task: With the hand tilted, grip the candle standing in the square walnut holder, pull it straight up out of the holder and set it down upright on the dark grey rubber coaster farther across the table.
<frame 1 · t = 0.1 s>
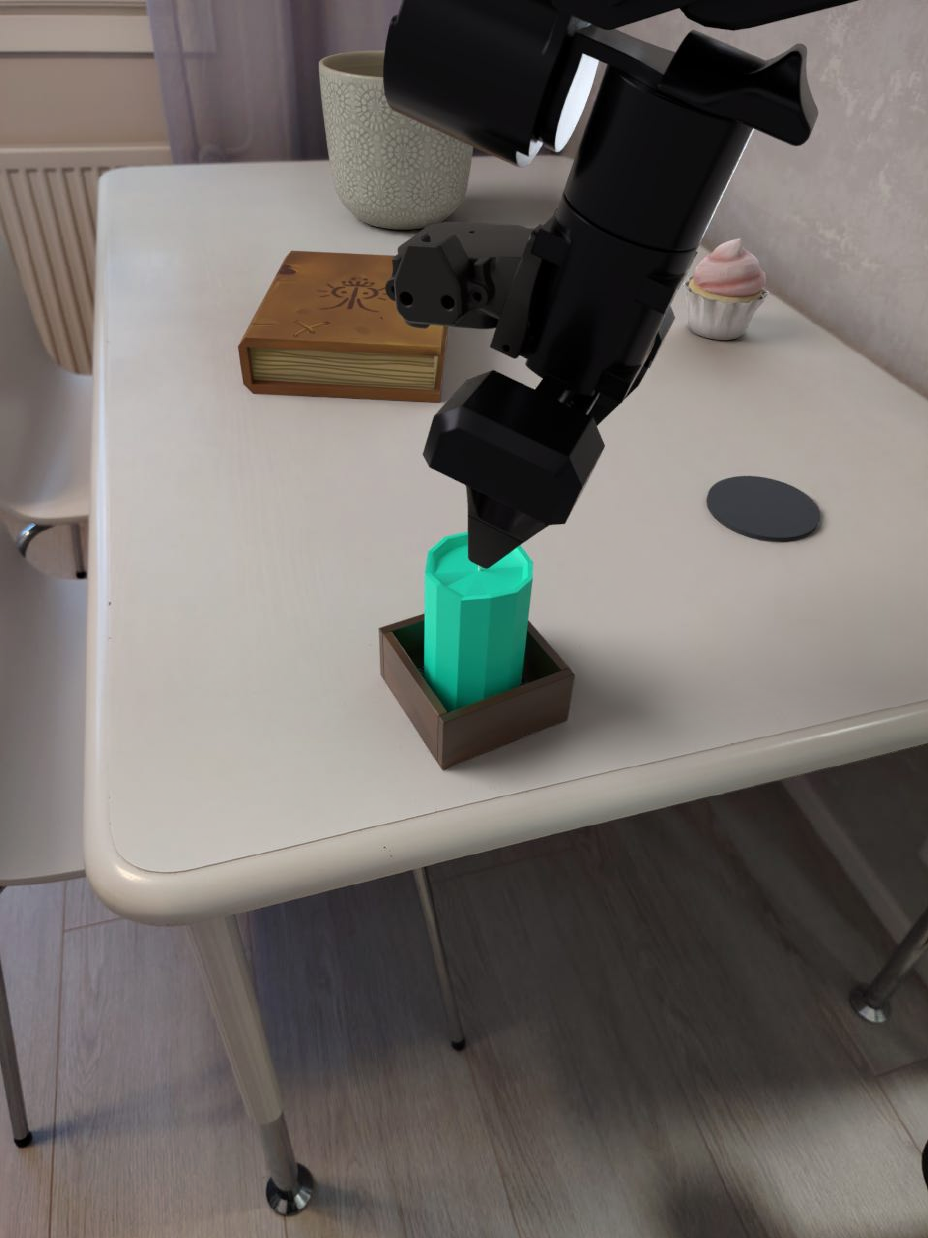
hand: (510, 513, 45), 14 cm above the table, tool pointing down, fingers open, 9 cm apart
coaster: (762, 509, 71), on the table
planter: (401, 219, 125), on the table
candle: (471, 699, 54), resting in holder
diary: (357, 349, 91), on the table
cupcake: (715, 331, 98), on the table
holder: (471, 696, 54), on the table
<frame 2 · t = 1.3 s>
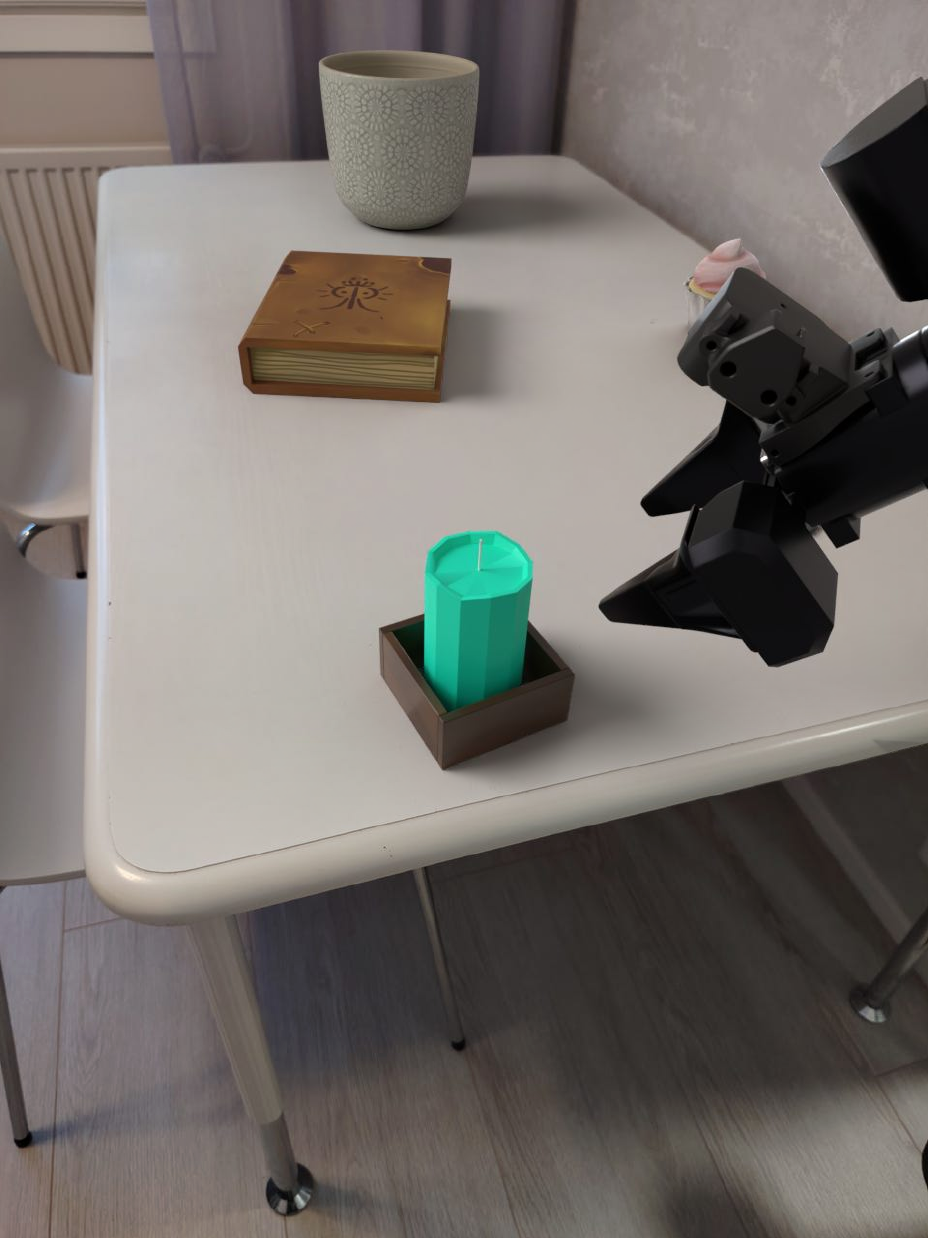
hand: (625, 556, 43), 13 cm above the table, tool tilted 45°, fingers open, 9 cm apart
nothing on the table moved.
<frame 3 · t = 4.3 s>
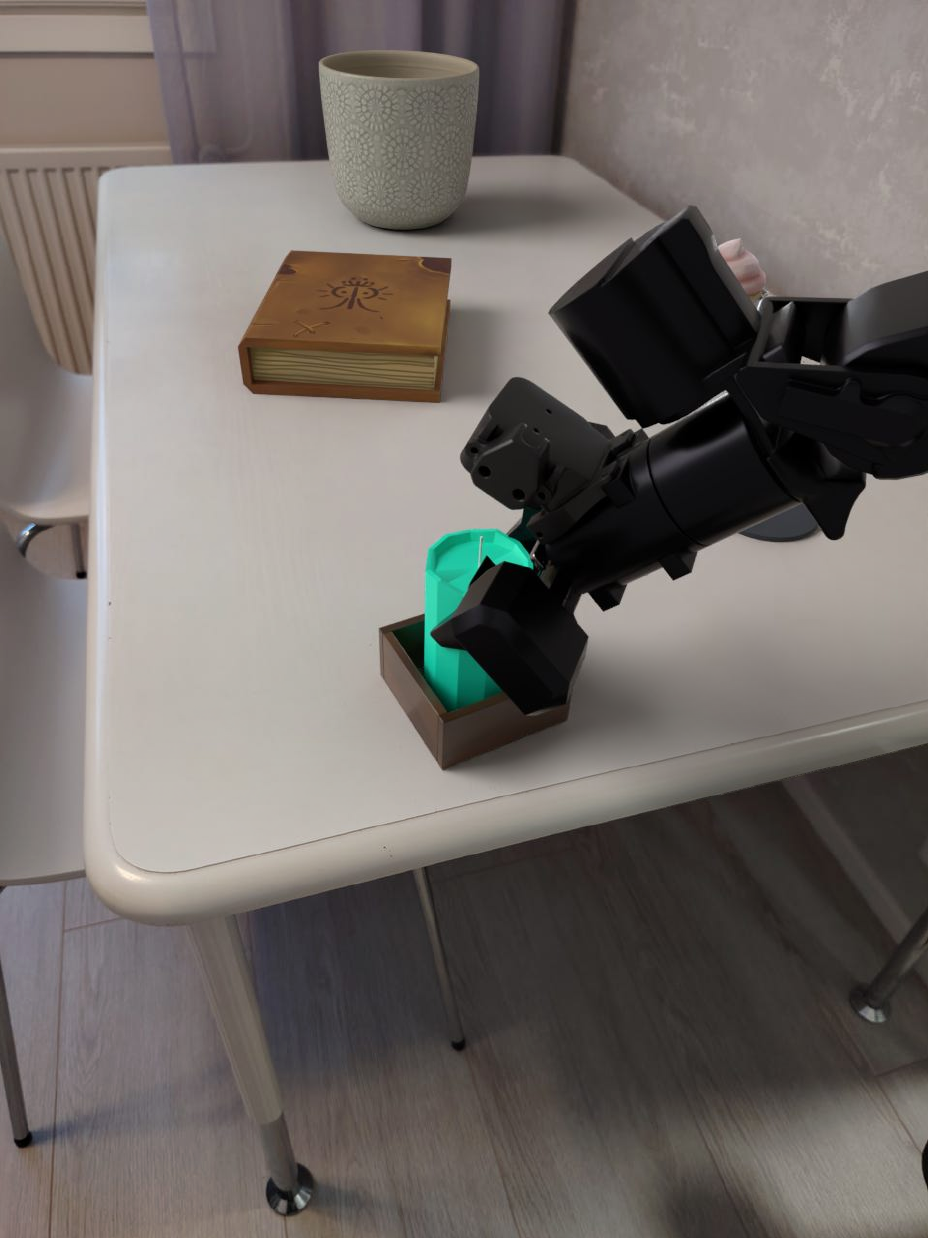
hand: (453, 609, 50), 7 cm above the table, tool tilted 45°, fingers closed on candle, 5 cm apart
candle: (471, 698, 54), resting in holder, touching gripper
everything else where it was.
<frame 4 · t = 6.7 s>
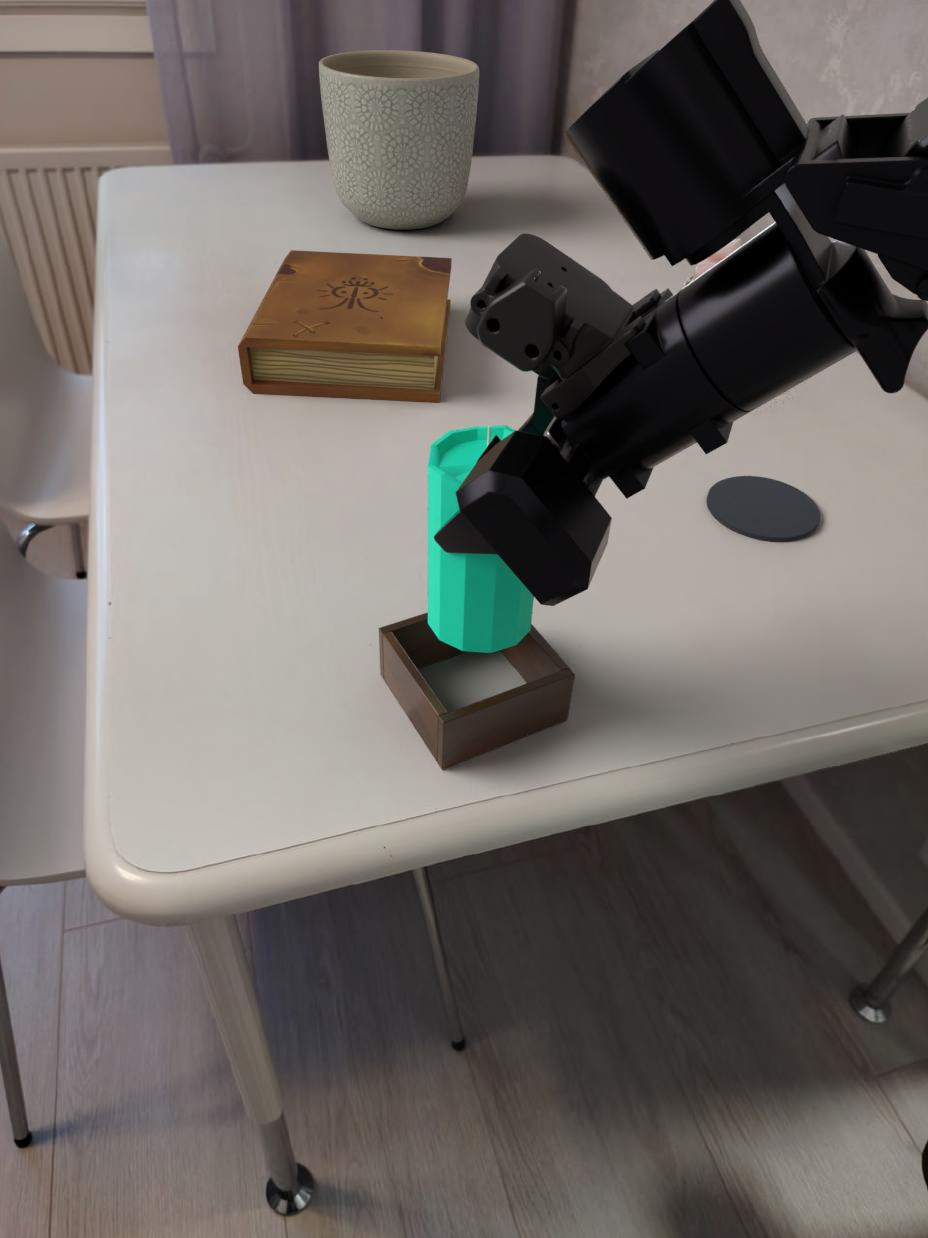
hand: (459, 515, 45), 13 cm above the table, tool tilted 45°, fingers closed on candle, 5 cm apart
candle: (479, 620, 49), point 6 cm above the table, touching gripper
everything else where it was.
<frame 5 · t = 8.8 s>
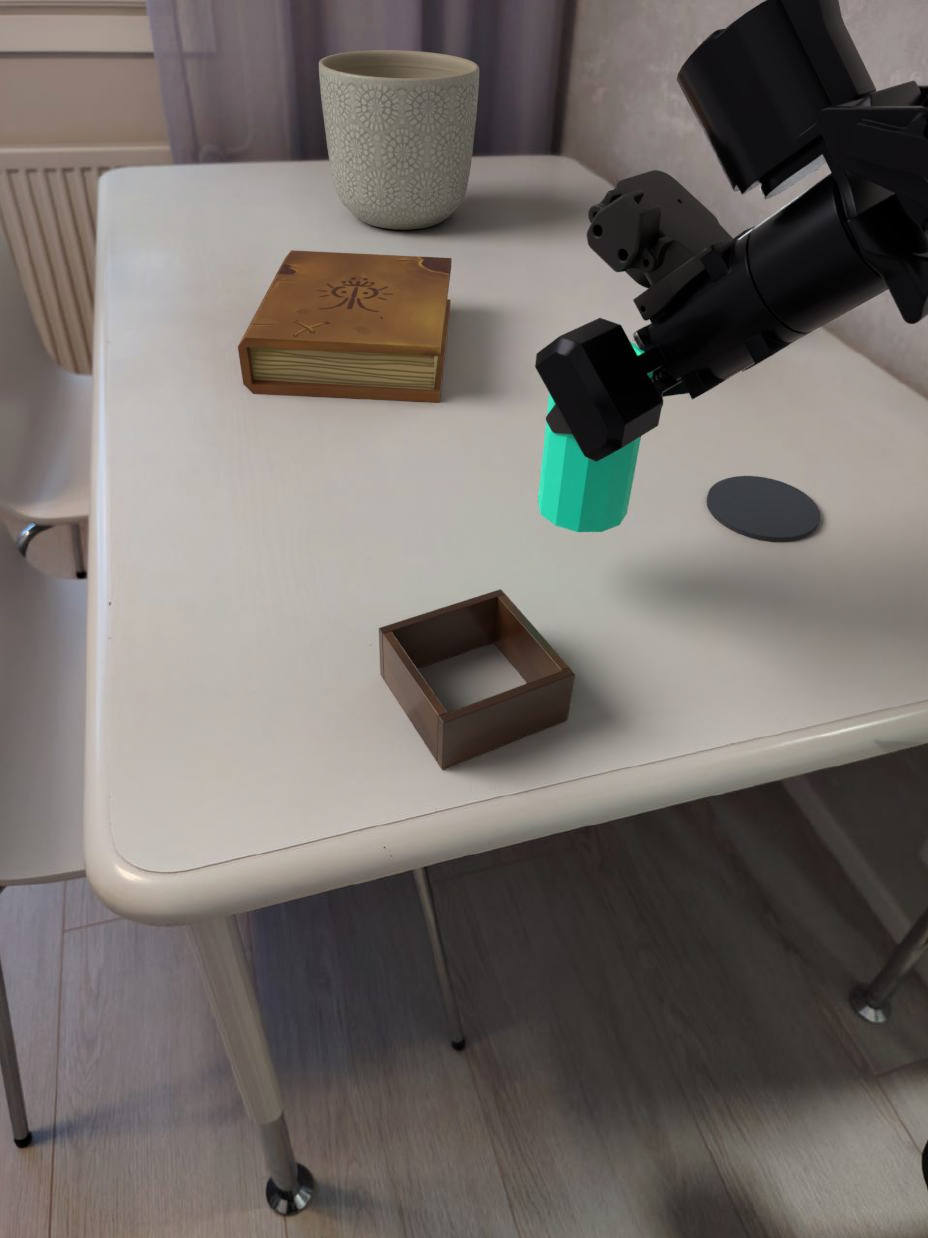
hand: (577, 410, 54), 13 cm above the table, tool tilted 45°, fingers closed on candle, 5 cm apart
candle: (581, 510, 58), point 6 cm above the table, touching gripper
everything else where it was.
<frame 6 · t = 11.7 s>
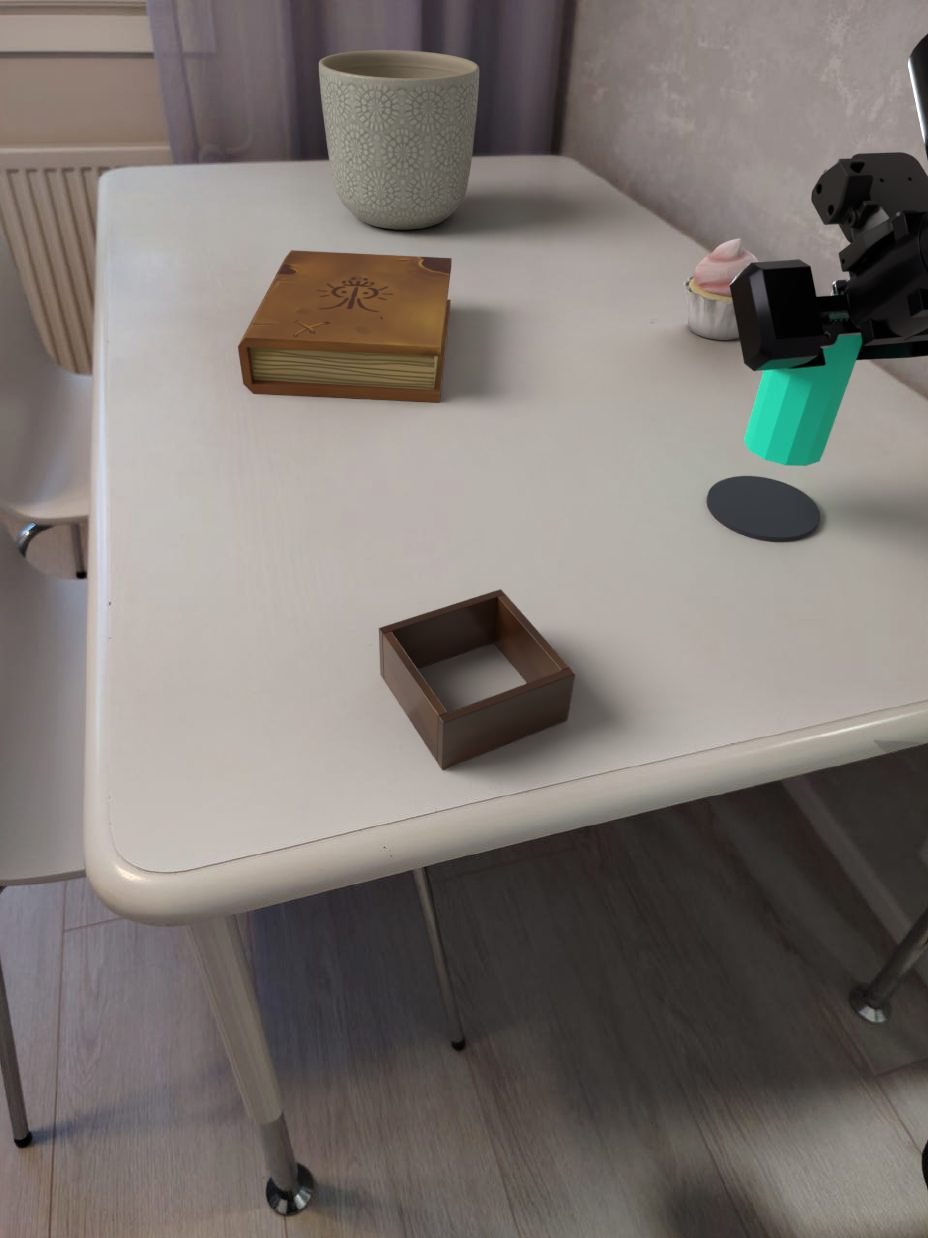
hand: (798, 357, 63), 13 cm above the table, tool tilted 45°, fingers closed on candle, 5 cm apart
candle: (782, 448, 67), point 6 cm above the table, touching gripper
everything else where it was.
when the fingers open (7 cm above the table, at t = 13.7 s): candle stays where it is, resting on coaster.
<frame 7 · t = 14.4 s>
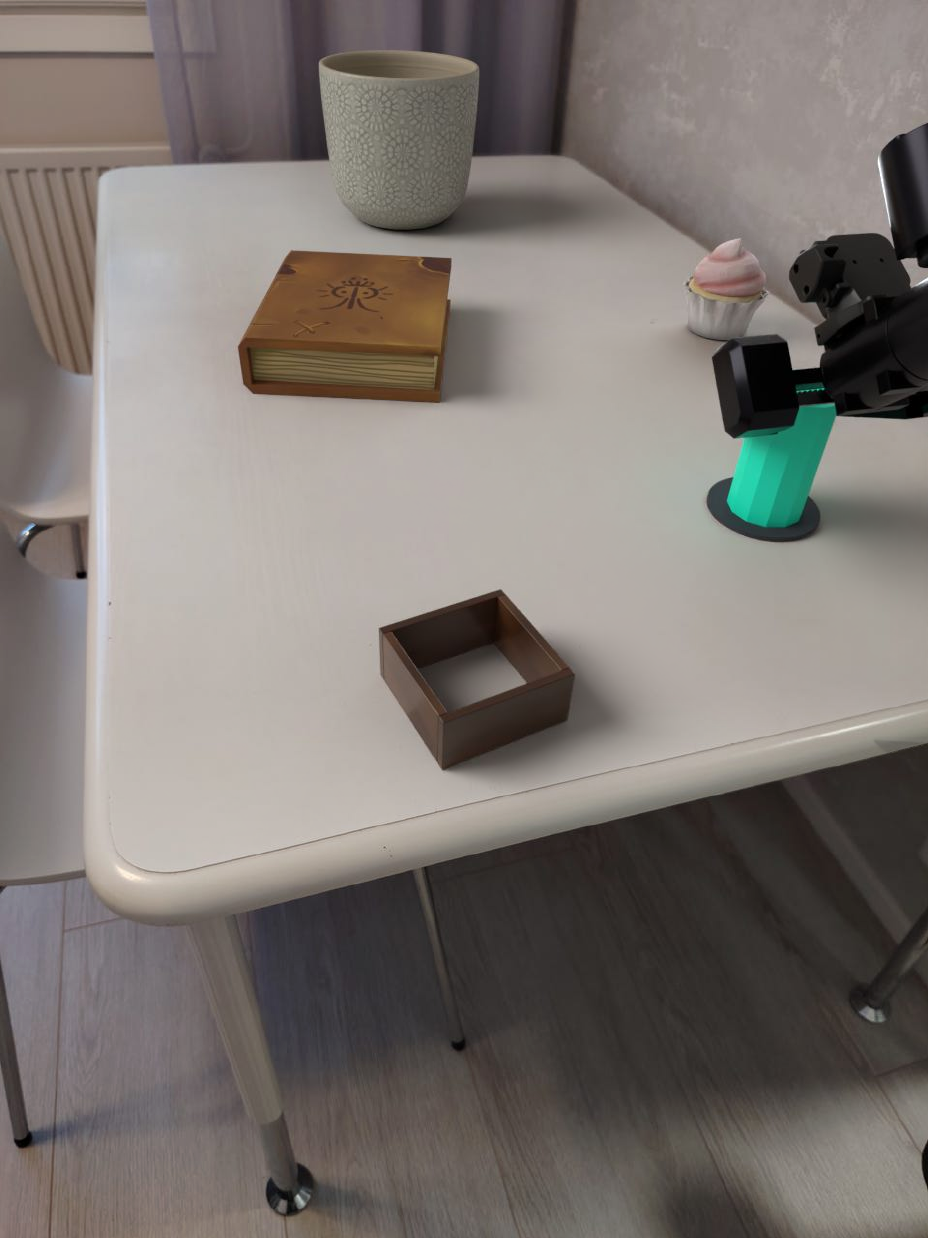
hand: (779, 414, 67), 8 cm above the table, tool tilted 45°, fingers open, 9 cm apart
candle: (763, 508, 70), resting on coaster
everything else where it was.
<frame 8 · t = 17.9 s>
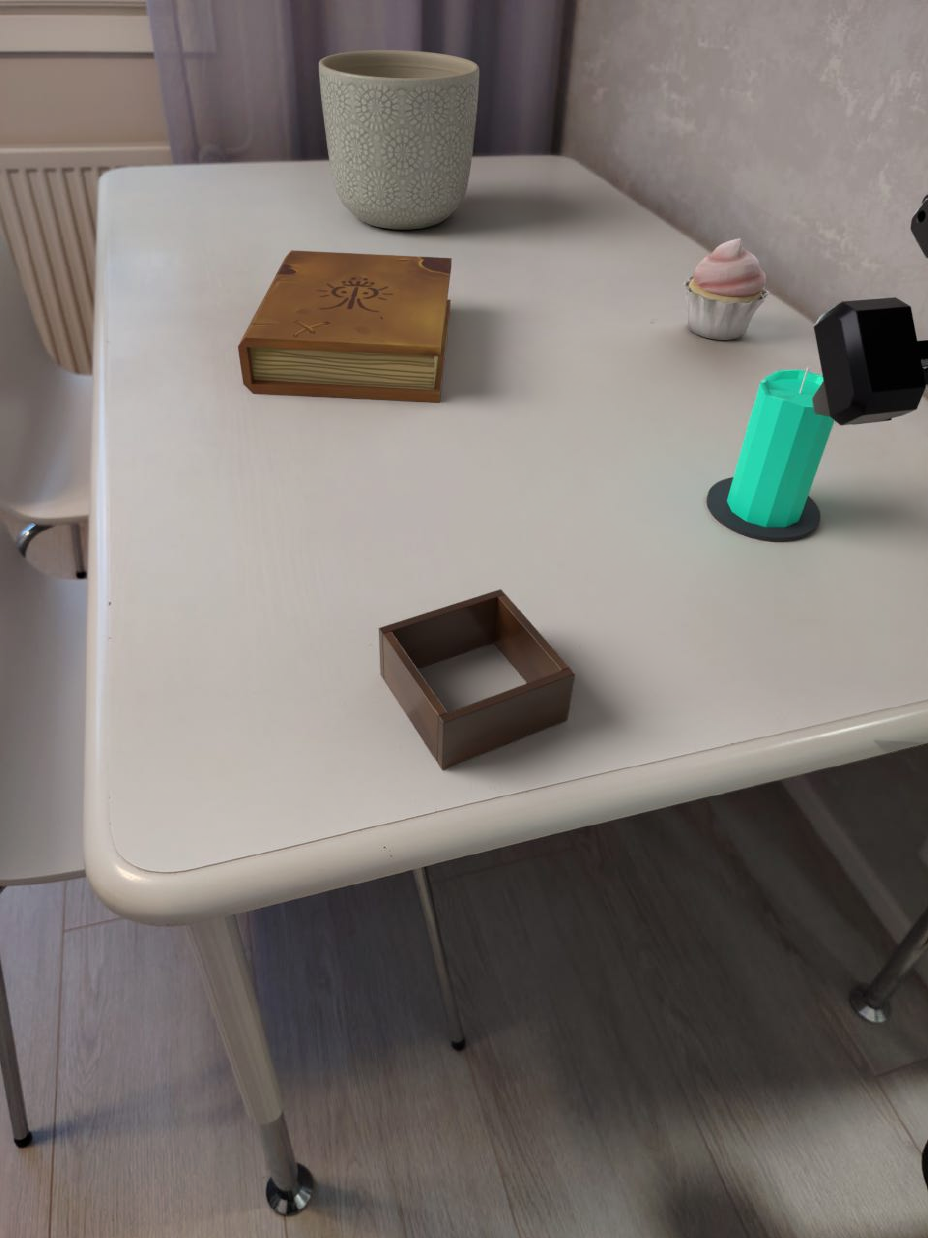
hand: (877, 399, 56), 14 cm above the table, tool tilted 45°, fingers open, 9 cm apart
nothing on the table moved.
at the end: candle 0.2 cm off-centre on the coaster, point 0.2 cm above the coaster's base; candle tilted 0°; candle touching coaster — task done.
